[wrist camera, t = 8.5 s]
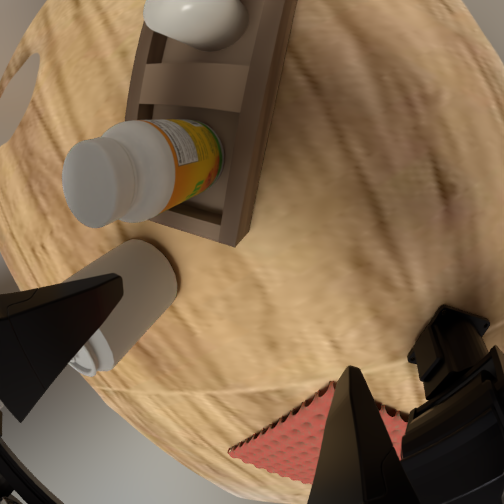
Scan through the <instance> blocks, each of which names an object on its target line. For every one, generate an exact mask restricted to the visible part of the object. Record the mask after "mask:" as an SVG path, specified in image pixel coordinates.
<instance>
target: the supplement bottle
mask: <svg viewBox="0 0 504 504" xmlns="http://www.w3.org/2000/svg"><path fill="white" fill-rule="evenodd" d="M223 165H224V150H223V146H222V143H221V141H220V139H219V137H218V135H217V134H216V133H215V131H214V130H213V129H212V128H210V127H209V126H208V125H206V124H204V123H202V122H200V121H195V120H185V119H160V120H132V121H125V122H121V123H118V124H116V125H114V126H113V127H111V128H109V129H108V130H107V131H106V132H105V133H104V134H103V135H102V136H101V137H98V138H94V139H89V140H84V141H81V142H79V143H77V144H76V145H74V146H73V147H72V148H71V150H70V151H69V153H68V154H67V156H66V159H65V162H64V165H63V172H62V184H63V191H64V195H65V198H66V201H67V204H68V206H69V208H70V210H71V212H72V213H73V215H74V216H75V217H76V218H77V219H78V220H79V221H80V222H81V223H82V224H84V225H86V226H88V227H91V228H100V227H103V226H105V225H108V224H110V223H112V222H114V221H116V220H118V219H119V220H121V221H124V222H129V223H138V222H143V221H146V220H148V219H150V218H153V217H155V216H157V215H159V214H160V213H162V212H164V211H166V210H168V209H170V208H172V207H174V206H176V205H178V204H180V203H182V202H184V201H186V200H188V199H190V198H192V197H194V196H196V195H198V194H200V193H202V192H204V191H205V190H207V189H209V188H210V187H211V186H212V185H213V184H214V183H215V182H216V181H217V179H218V178H219V176H220V174H221V172H222V169H223Z"/></svg>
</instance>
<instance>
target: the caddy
mask: <svg viewBox="0 0 504 504" xmlns="http://www.w3.org/2000/svg"><path fill="white" fill-rule="evenodd" d="M240 1H241V3H242V4H243V5H244V6H245V7H246V9H247V11H248V15H249V22H248V26H247V28H246V31H245V32H244V34H243V35H242V36H241V38H240V39H239V40H238V41H236V42H235V43H234V44H232V45H231V46H229V47H227V48H225V49H222V50H219V51H214V52H204V51H200V50H197V49H195V48H193V47H191V46H189V45H186V44H184V43H182V42H180V41H177V40H175V39H173V38H170V37H168V36H165V35H163V34H160V33H158V32H155V31H153V30H151V29H150V28H149V27H148V26H147V25H146V23H145V21H144V23H143V27H142V31H141V34H140V38H139V43H138V47H137V51H136V56H135V60H134V65H133V70H132V76H131V81H130V87H129V93H128V100H127V107H126V115H125V121H132V120H160V119H185V120H195V121H200V122H202V123H204V124H206V125H208V126H209V127H210V128H212V129H213V130H214V131H215V133H216V134H217V135H218V137H219V139H220V141H221V143H222V146H223V150H224V165H223V169H222V172H221V174H220V176H219V178H218V179H217V181H216V182H215V183H214V184H213V185H212V186H211V187H210V188H209V189H207V190H205V191H204V192H202V193H200V194H198V195H196V196H194V197H192V198H190V199H188V200H186V201H184V202H182V203H180V204H178V205H176V206H174V207H172V208H170V209H168V210H166V211H164V212H162V213H160V214H159V215H157V216H155V217H153V218H150V219H148V220H150V221H153V222H156V223H159V224H162V225H165V226H169V227H172V228H175V229H178V230H181V231H184V232H188V233H191V234H194V235H197V236H200V237H203V238H207V239H210V240H213V241H216V242H219V243H223V244H226V245H229V246H232V247H236V246H237V244H238V243H239V242H240V241H241V240H242V239H243V238H244V237H245V235H246V234H247V233H248V232H249V228H250V223H251V218H252V213H253V208H254V203H255V198H256V193H257V188H258V183H259V178H260V173H261V168H262V164H263V159H264V154H265V149H266V144H267V139H268V134H269V130H270V125H271V120H272V115H273V110H274V106H275V101H276V96H277V91H278V87H279V82H280V77H281V73H282V68H283V63H284V59H285V54H286V49H287V45H288V40H289V35H290V31H291V26H292V22H293V17H294V12H295V8H296V3H297V0H240Z"/></svg>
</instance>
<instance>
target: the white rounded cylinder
mask: <svg viewBox="0 0 504 504" xmlns="http://www.w3.org/2000/svg"><path fill="white" fill-rule="evenodd" d="M143 17H144V21H145V23H146V25H147V26H148V27H149V28H150V29H151V30H153V31H155V32H158V33H160V34H163V35H165V36H168V37H170V38H173V39H175V40H177V41H180V42H182V43H184V44H186V45H189V46H191V47H193V48H195V49H197V50H200V51H204V52H214V51H219V50H222V49H225V48H227V47H229V46H231V45H232V44H234V43H235V42H236V41H238V40H239V39H240V38H241V36H242V35H243V34H244V32H245V31H246V28H247V26H248V22H249V15H248V11H247V9H246V7H245V6H244V5H243V4H242V3H241V1H240V0H146V2H145V5H144V10H143Z"/></svg>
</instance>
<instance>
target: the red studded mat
mask: <svg viewBox="0 0 504 504" xmlns="http://www.w3.org/2000/svg"><path fill="white" fill-rule="evenodd" d="M333 382H334V381H333ZM333 382H330V385H329V388H328V390H327V392H326V393H325V394H324V395H323V396H322V397H319V392H320V390H319V391H318V393H315V397H314V399H313V401H312V403H311V404H310V405H309V406H308V407H305V404H306V402H307V400H305V402H304V403H303V402H302V406H301V408H300V410H299V412H298V413H297V414H296V415H294V416H293V412H294V410H295V409H294V408H293V410H292V411H290V414H289V416H288V418H287V420H286V421H285V422H283V423H282V419H283V418H284V417H283V416H282V418H279V422H278V424H277V425H276V427H275V428H274V429H272V425H273V424H274V423H273V422H272V424H270V426H269V428H268V430H267V432H266V433H265V434H263V431H264V430H265V429H264V428H263V430H261V432H260V434H259V436H258V437H257V438H256V439H255V436H256V433H255V435H254V434H253V437H252V439H251V440H250V442H249V443H247V441H248V439H249V438H247V439H246V440H245V442H244V444H243V445H242V446H241V443H242V442H241V443H240V442H239V445H238V447H237V448H236V449H235V447H236V445H235V446H233V448H232V450H231V451H230V453H229V450H230V448H229V450H228V454H229V455H230V456H231V457H232V458H239V459H242V461H243V462H244V463H250V464H254V465H255V467H257V468H264V469H267V471H268V472H270V473H278V474H279V475H280V476H281V477H290V478H291V479H292V480H300V481H301V482H302V483H304V484H306V483H310V484H313V480H314V476H315V472H316V467H317V463H318V458H319V454H320V449H321V444H322V439H323V434H324V429H325V424H326V420H327V416H328V413H329V409H330V406H331V402H332V399H333V395H334V392H335V390H334V387H333ZM395 411H396V409H395ZM379 412H380V415H381V417H382V419H383V422H384V424H385V426H386V429H387V431H388V433H389V436H390V438H391V441H392V443H393V447H394V448H395V450H396V453H397V455H398V457H399V460H401V456H400V454H401V440H402V436H403V435H405V431H406V427H407V423H408V422H404V421H403V420H402V419H401V417H400V415H399V411H396V415H395V417H391V416H389V415H388V414H387V412H386V410H385V405H382V403H381V410H380V411H379ZM408 416H409V415H408ZM234 449H235V450H234Z"/></svg>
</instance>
